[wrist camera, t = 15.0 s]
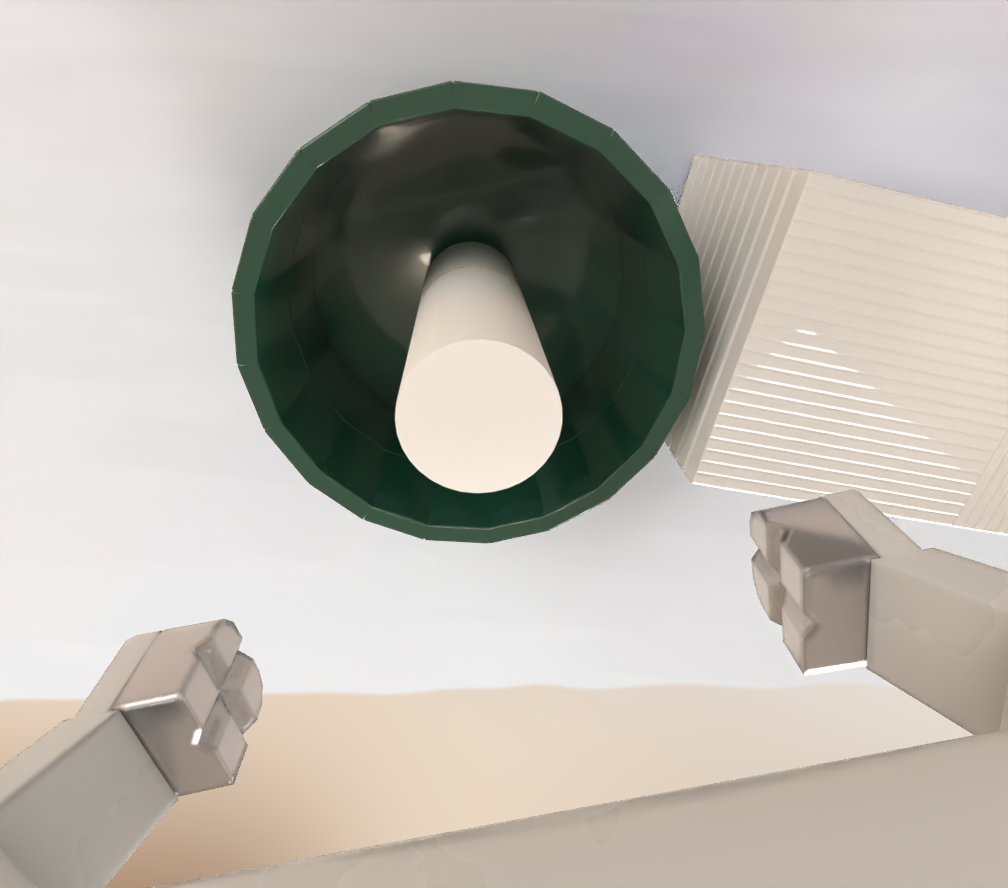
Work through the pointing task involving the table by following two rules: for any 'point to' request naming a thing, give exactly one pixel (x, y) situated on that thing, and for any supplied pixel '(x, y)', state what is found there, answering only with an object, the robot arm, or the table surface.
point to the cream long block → (847, 345)
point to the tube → (476, 377)
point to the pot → (399, 284)
